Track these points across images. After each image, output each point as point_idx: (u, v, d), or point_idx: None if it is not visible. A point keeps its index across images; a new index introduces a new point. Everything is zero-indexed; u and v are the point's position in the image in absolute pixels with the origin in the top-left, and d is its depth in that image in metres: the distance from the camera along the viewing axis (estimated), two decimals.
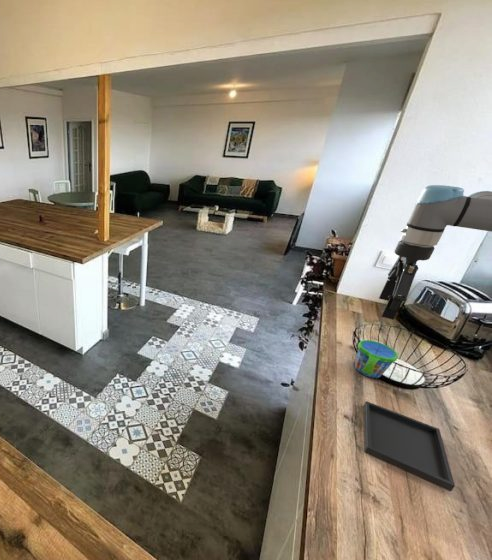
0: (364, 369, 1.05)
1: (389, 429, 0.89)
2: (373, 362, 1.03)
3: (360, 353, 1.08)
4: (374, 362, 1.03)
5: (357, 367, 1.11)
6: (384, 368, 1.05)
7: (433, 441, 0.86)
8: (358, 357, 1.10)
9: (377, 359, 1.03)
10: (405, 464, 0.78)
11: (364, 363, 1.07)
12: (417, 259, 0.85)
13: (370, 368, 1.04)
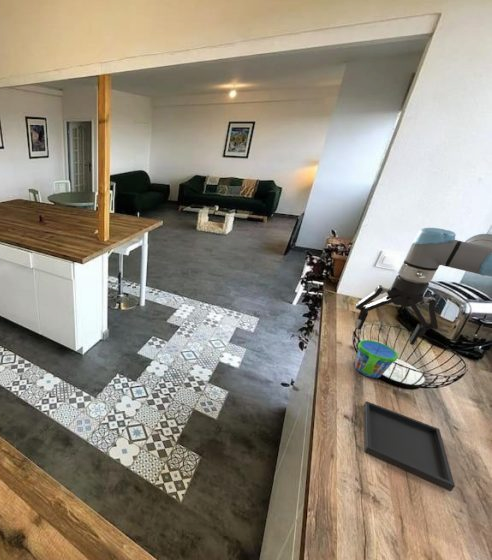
0: (364, 369, 1.05)
1: (389, 429, 0.89)
2: (373, 362, 1.03)
3: (360, 353, 1.08)
4: (374, 362, 1.03)
5: (357, 367, 1.11)
6: (384, 368, 1.05)
7: (433, 441, 0.86)
8: (358, 357, 1.10)
9: (377, 359, 1.03)
10: (405, 464, 0.78)
11: (364, 363, 1.07)
12: None
13: (370, 368, 1.04)
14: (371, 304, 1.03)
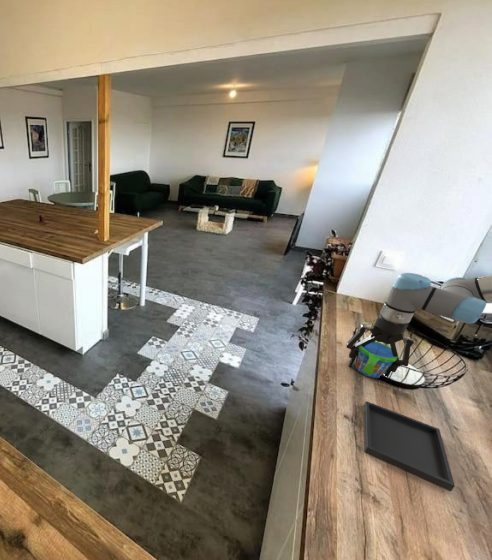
0: (364, 369, 1.05)
1: (389, 429, 0.89)
2: (373, 362, 1.03)
3: (360, 353, 1.08)
4: (374, 362, 1.03)
5: (357, 367, 1.11)
6: (384, 368, 1.05)
7: (433, 441, 0.86)
8: (358, 357, 1.10)
9: (377, 359, 1.03)
10: (405, 464, 0.78)
11: (364, 363, 1.07)
12: None
13: (370, 368, 1.03)
14: (359, 343, 1.09)
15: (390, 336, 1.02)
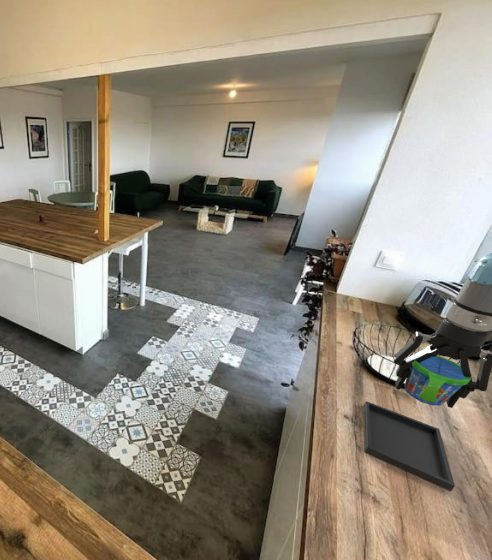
0: (422, 394, 0.75)
1: (389, 429, 0.89)
2: (437, 385, 0.73)
3: (415, 372, 0.79)
4: (438, 385, 0.73)
5: (409, 390, 0.81)
6: (451, 393, 0.75)
7: (433, 441, 0.86)
8: (411, 376, 0.80)
9: (443, 381, 0.73)
10: (405, 464, 0.78)
11: (421, 385, 0.78)
12: None
13: (432, 393, 0.74)
14: (412, 357, 0.80)
15: (461, 349, 0.72)
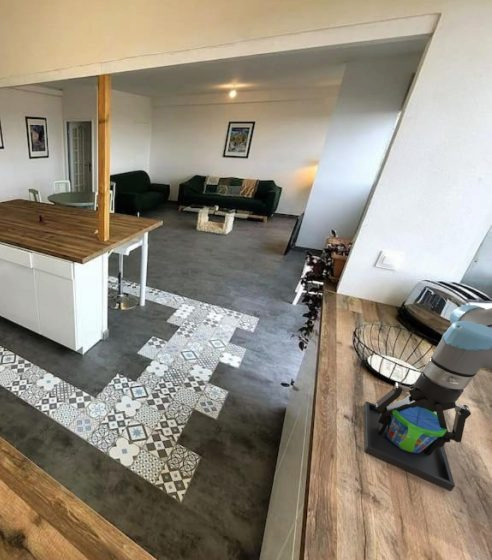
0: (401, 444, 0.79)
1: None
2: (414, 437, 0.77)
3: (395, 420, 0.83)
4: (416, 437, 0.77)
5: (390, 436, 0.85)
6: (428, 443, 0.79)
7: None
8: (391, 424, 0.84)
9: (420, 432, 0.77)
10: (405, 464, 0.78)
11: (400, 434, 0.82)
12: None
13: (410, 444, 0.78)
14: (393, 406, 0.84)
15: (437, 403, 0.76)
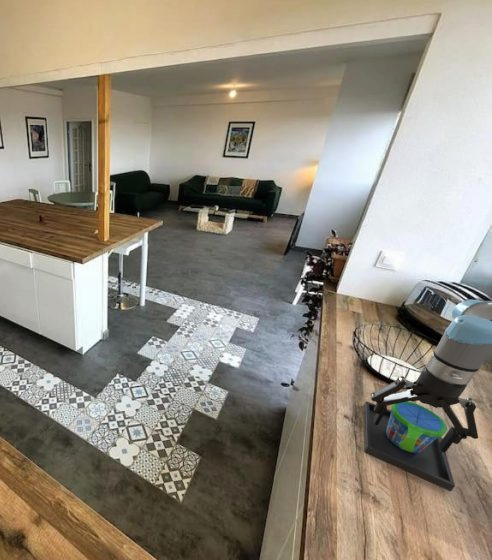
0: (401, 444, 0.79)
1: None
2: (414, 437, 0.77)
3: (395, 420, 0.83)
4: (416, 437, 0.77)
5: (390, 436, 0.85)
6: (428, 443, 0.79)
7: (433, 441, 0.86)
8: (391, 424, 0.84)
9: (420, 432, 0.77)
10: (405, 464, 0.78)
11: (400, 434, 0.82)
12: None
13: (410, 444, 0.78)
14: (391, 397, 0.83)
15: (440, 398, 0.76)
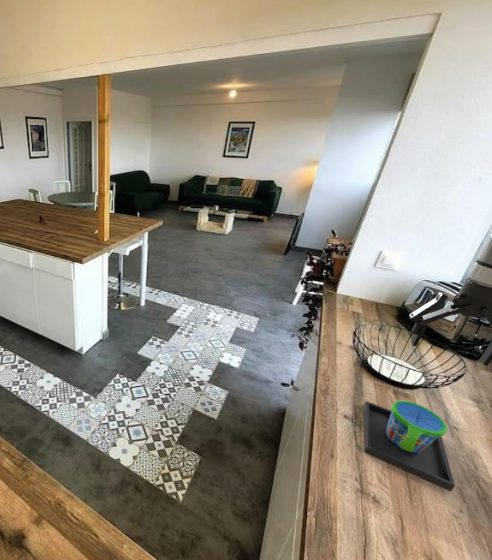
0: (401, 444, 0.79)
1: None
2: (414, 437, 0.77)
3: (395, 420, 0.83)
4: (416, 437, 0.77)
5: (390, 436, 0.85)
6: (428, 443, 0.79)
7: (433, 441, 0.86)
8: (391, 424, 0.84)
9: (420, 432, 0.77)
10: (405, 464, 0.78)
11: (400, 434, 0.82)
12: None
13: (410, 444, 0.78)
14: (430, 315, 0.83)
15: (484, 307, 0.76)
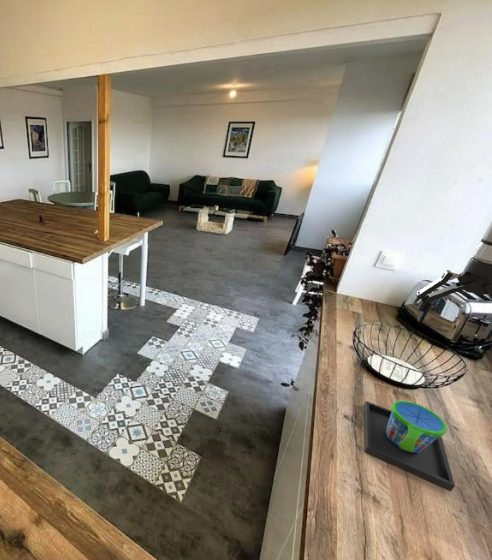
0: (401, 444, 0.79)
1: None
2: (414, 437, 0.77)
3: (395, 420, 0.83)
4: (416, 437, 0.77)
5: (390, 436, 0.85)
6: (428, 443, 0.79)
7: (433, 441, 0.86)
8: (391, 424, 0.84)
9: (420, 432, 0.77)
10: (405, 464, 0.78)
11: (400, 434, 0.82)
12: None
13: (410, 444, 0.78)
14: (436, 293, 0.88)
15: (487, 284, 0.81)
